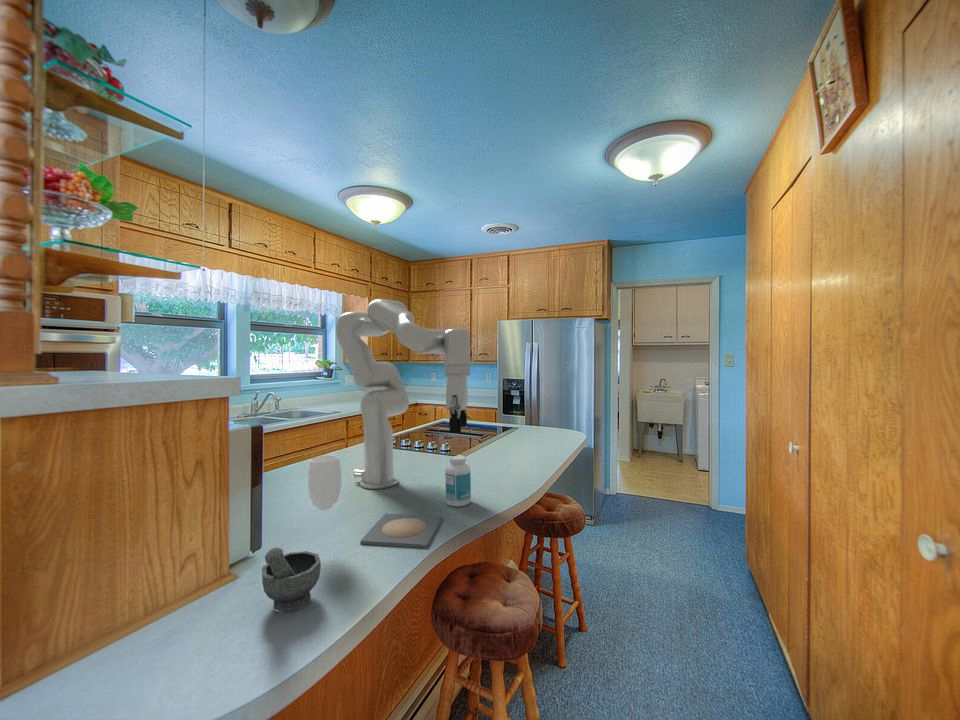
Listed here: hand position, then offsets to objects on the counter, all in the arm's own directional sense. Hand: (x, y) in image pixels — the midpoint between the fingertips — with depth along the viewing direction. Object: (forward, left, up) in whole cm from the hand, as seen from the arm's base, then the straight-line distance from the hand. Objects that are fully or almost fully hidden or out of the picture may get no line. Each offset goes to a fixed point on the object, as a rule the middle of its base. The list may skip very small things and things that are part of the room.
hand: (458, 428), depth 120 cm
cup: (-25, -31, -22) cm, 46 cm away
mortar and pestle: (-21, -51, -22) cm, 59 cm away
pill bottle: (0, 0, -22) cm, 22 cm away
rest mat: (-10, -20, -22) cm, 31 cm away
